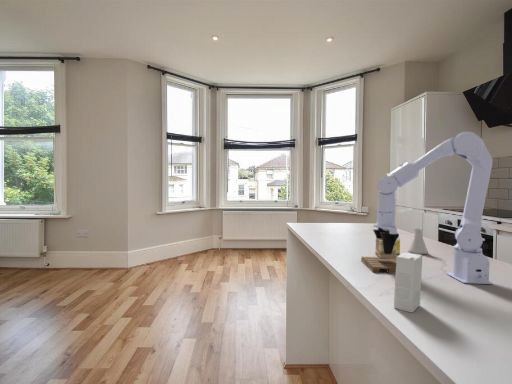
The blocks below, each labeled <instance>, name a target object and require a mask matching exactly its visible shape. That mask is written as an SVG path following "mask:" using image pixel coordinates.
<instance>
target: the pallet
mask: <svg viewBox="0 0 512 384" xmlns="http://www.w3.org/2000/svg"><path fill="white" fill-rule="evenodd" d="M396 259H397V257H396ZM396 259H380V258H379V257H377V256H361V259H360V260H361V263H362V264H363V265H365V266H366V267H367V269H369V270H370V271H371V272H372V273H377V274H378V273H380V270H381V269H383V270H384V271H386V272H389V274H396Z"/></svg>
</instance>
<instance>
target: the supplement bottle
mask: <svg viewBox="0 0 512 384" xmlns="http://www.w3.org/2000/svg"><path fill="white" fill-rule="evenodd" d="M397 234H399V231H398V230H397ZM400 249H401V238H400V236H399V237H398V238H397V240H396V258H397V257H398V256H399V255H401V253H400V252H401V250H400Z"/></svg>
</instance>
